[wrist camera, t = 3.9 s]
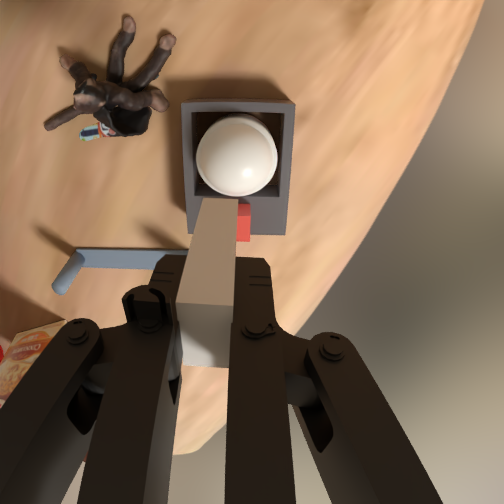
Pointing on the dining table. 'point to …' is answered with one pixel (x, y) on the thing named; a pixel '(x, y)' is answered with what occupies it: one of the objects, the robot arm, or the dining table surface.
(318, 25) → the dining table surface
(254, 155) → the dome
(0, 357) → the ceramic cup
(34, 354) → the coffeecake box
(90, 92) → the stuffed animal
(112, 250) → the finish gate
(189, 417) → the dining table surface
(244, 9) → the dining table surface
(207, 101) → the dome base
